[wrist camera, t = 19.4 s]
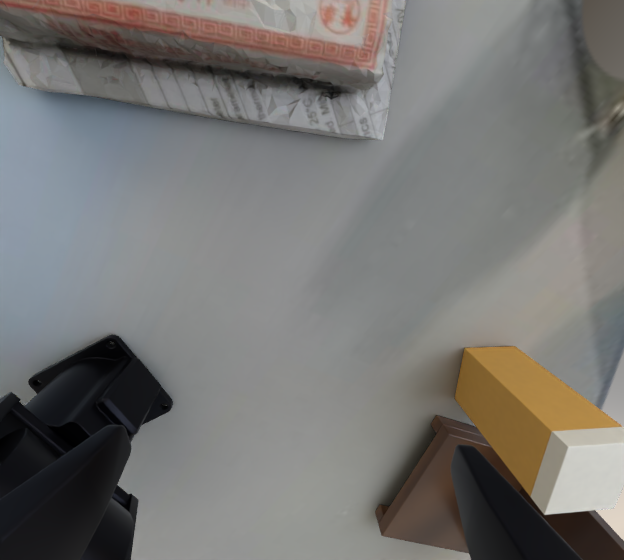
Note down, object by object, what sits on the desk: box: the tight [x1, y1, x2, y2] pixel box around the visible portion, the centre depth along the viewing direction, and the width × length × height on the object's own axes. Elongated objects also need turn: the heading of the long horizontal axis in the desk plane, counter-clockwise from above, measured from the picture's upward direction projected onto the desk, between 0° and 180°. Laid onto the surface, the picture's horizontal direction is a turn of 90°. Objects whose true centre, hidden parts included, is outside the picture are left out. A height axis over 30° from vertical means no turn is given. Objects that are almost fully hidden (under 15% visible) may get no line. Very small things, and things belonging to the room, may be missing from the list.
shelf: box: [375, 415, 624, 560], centre depth 24 cm, size 10×11×9 cm
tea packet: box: [455, 346, 624, 515], centre depth 20 cm, size 4×4×9 cm
